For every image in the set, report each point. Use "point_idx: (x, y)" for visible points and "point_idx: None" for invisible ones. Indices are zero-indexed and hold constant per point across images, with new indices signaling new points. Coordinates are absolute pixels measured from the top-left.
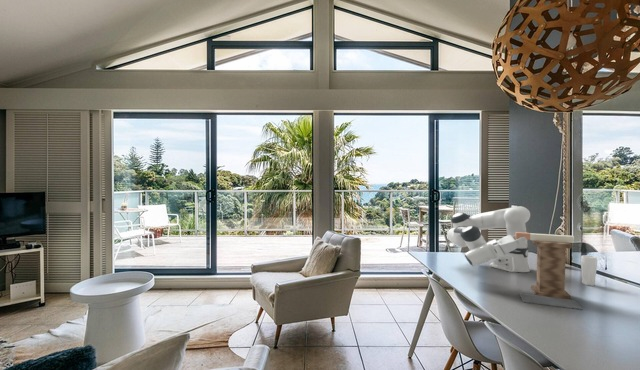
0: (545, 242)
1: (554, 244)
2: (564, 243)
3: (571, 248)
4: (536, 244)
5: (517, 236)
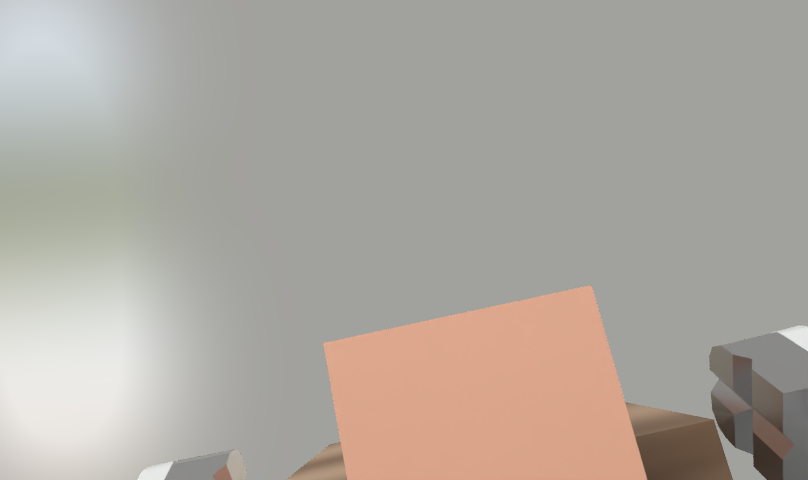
0: (644, 410)
1: None
2: None
3: None
4: (716, 477)
5: (617, 440)
